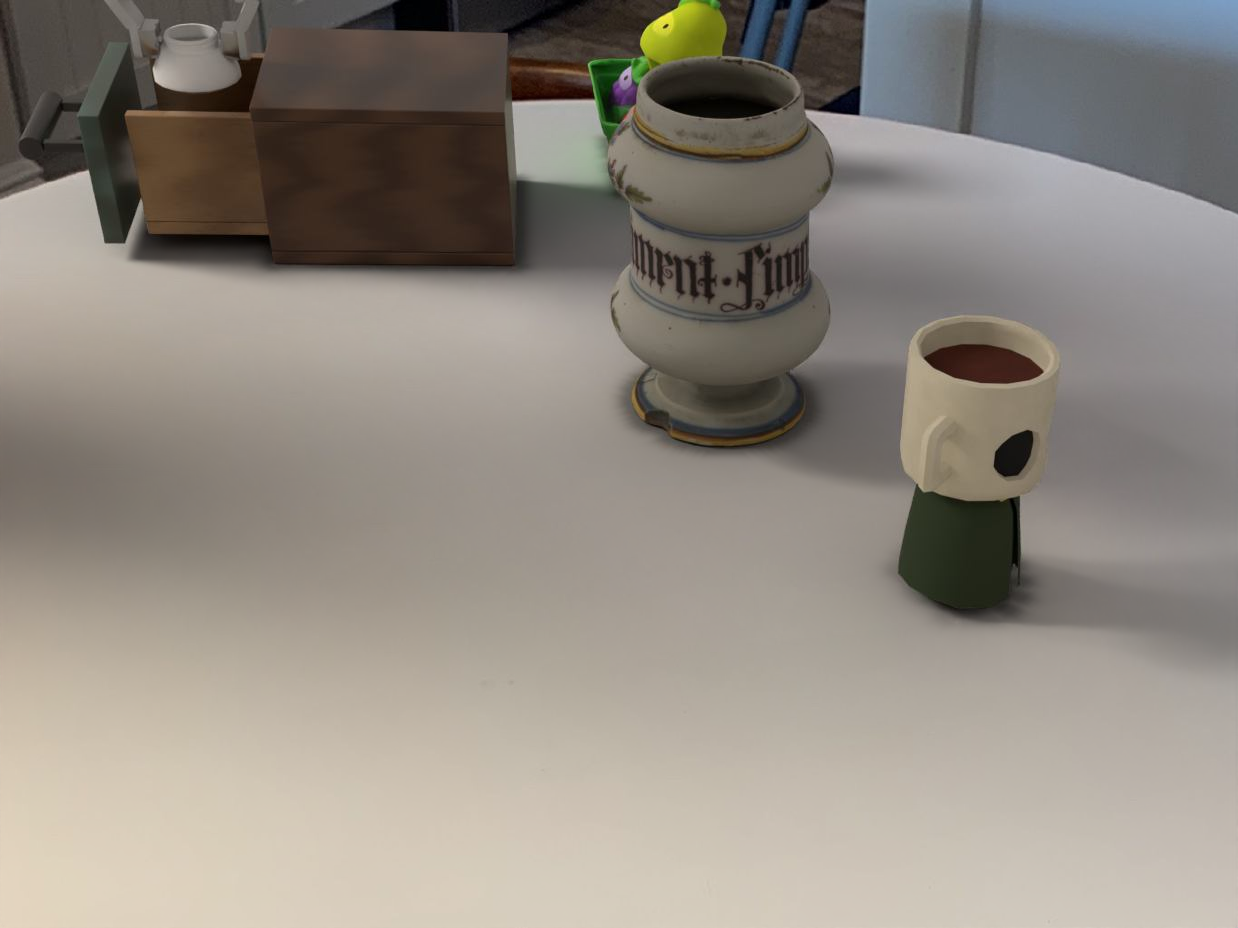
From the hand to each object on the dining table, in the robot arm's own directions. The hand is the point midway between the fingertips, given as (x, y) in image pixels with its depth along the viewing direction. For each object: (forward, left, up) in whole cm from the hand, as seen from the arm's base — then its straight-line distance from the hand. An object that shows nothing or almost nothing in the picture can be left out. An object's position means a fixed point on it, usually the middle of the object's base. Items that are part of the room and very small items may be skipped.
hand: (193, 56), depth 114 cm
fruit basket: (+28, +9, -10) cm, 31 cm away
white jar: (0, 0, -2) cm, 2 cm away
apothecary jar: (+30, -23, -10) cm, 39 cm away
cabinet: (+11, 0, -10) cm, 15 cm away
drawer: (-1, 0, -9) cm, 9 cm away
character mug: (+41, -41, -10) cm, 59 cm away
